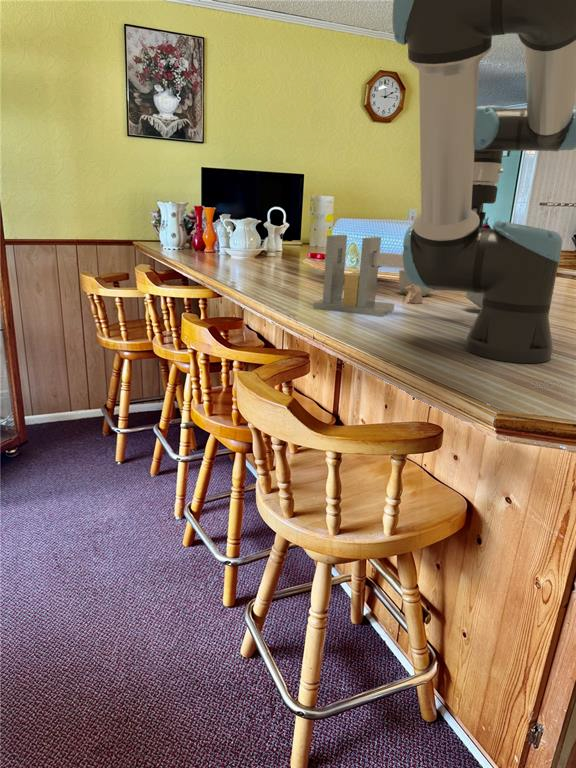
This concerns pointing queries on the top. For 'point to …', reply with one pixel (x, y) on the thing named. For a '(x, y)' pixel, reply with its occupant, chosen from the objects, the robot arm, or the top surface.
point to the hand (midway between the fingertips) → (464, 289)
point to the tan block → (351, 289)
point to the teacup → (405, 283)
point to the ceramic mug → (475, 298)
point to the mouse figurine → (414, 295)
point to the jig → (366, 279)
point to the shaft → (387, 260)
